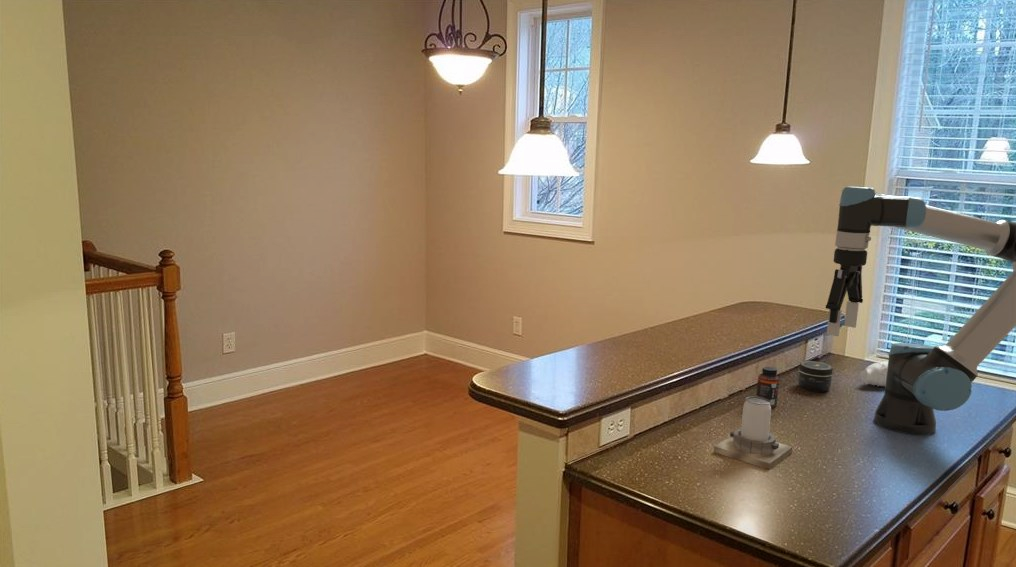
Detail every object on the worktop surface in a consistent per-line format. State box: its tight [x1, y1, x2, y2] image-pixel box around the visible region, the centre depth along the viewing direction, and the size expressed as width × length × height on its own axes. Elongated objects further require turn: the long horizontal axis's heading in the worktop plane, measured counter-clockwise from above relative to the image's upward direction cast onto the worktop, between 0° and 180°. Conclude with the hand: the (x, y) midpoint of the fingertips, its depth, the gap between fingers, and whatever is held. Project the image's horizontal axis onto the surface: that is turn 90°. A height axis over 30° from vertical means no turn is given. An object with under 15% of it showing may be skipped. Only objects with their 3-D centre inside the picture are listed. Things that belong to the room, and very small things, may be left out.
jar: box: [797, 360, 834, 393], centre depth 235 cm, size 10×10×8 cm
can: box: [740, 396, 772, 441], centre depth 181 cm, size 6×6×12 cm
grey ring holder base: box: [713, 427, 793, 470], centre depth 182 cm, size 14×14×4 cm
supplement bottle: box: [755, 366, 780, 409], centre depth 216 cm, size 6×6×11 cm
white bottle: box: [859, 360, 889, 387], centre depth 240 cm, size 8×19×8 cm, turn 111°
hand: (841, 330), depth 189 cm, fingers open, 13 cm apart
